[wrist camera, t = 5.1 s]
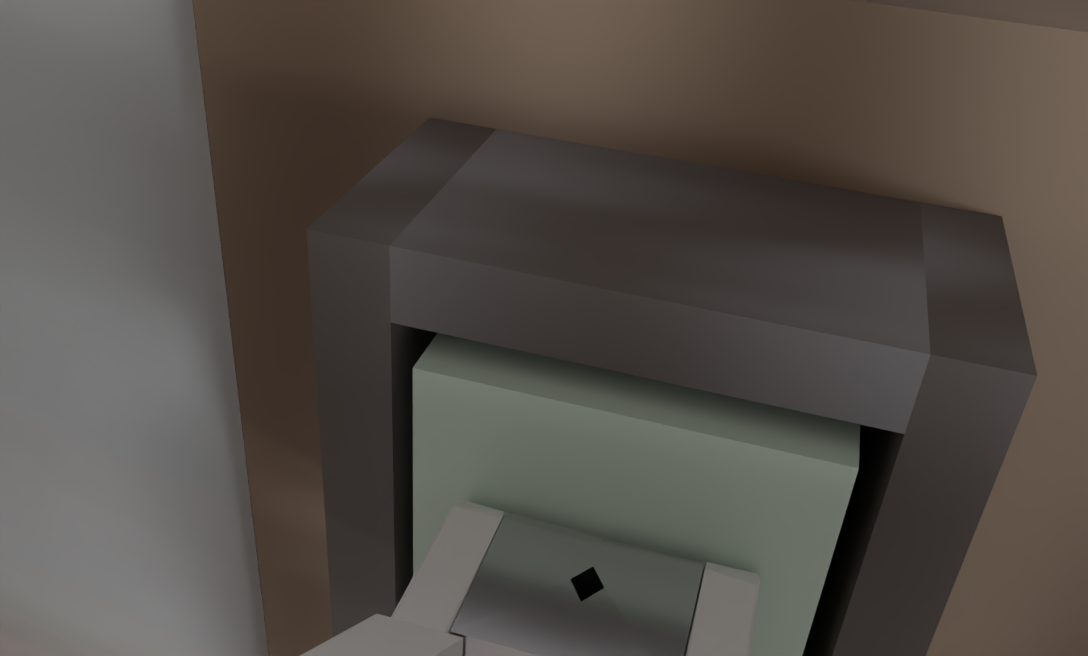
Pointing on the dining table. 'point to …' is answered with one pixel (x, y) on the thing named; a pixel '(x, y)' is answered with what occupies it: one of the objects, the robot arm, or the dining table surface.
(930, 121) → the button console
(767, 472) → the sage button
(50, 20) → the dining table surface
